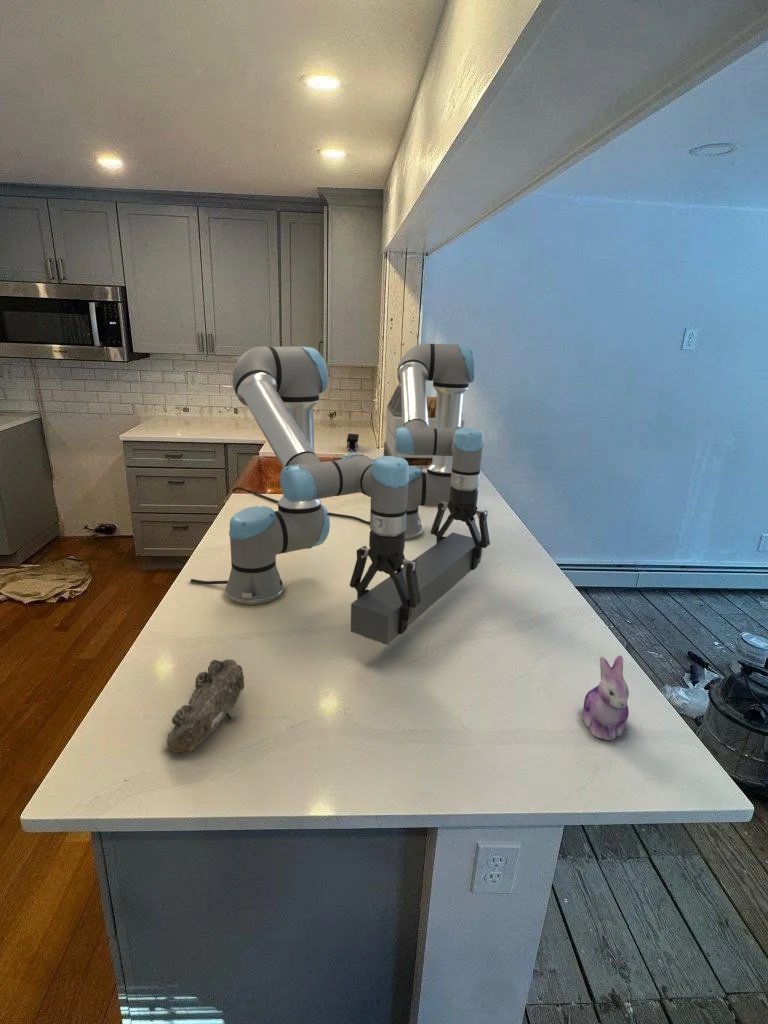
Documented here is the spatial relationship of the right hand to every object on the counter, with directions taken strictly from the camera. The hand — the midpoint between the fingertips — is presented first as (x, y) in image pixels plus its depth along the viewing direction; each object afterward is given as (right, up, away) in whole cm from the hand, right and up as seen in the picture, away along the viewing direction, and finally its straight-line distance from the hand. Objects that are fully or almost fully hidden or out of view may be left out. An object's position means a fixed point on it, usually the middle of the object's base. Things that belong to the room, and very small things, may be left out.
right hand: (457, 563), depth 158 cm
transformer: (-3, +33, +116) cm, 121 cm away
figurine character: (-38, +49, +156) cm, 168 cm away
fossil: (-53, -25, -50) cm, 77 cm away
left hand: (-21, -11, -32) cm, 40 cm away
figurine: (+23, -27, -48) cm, 60 cm away
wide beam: (-10, -6, -16) cm, 20 cm away
